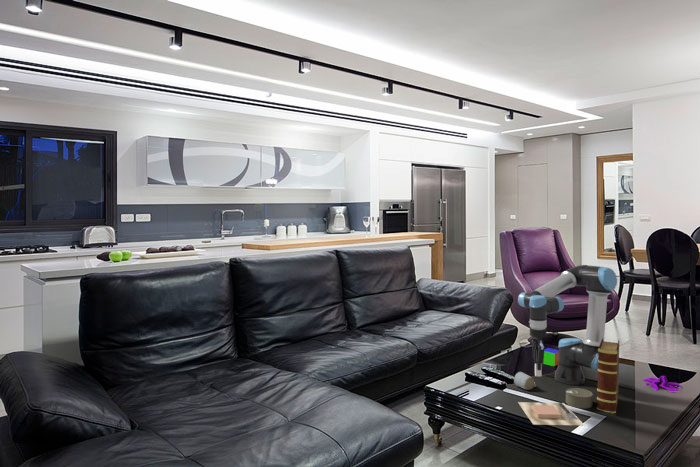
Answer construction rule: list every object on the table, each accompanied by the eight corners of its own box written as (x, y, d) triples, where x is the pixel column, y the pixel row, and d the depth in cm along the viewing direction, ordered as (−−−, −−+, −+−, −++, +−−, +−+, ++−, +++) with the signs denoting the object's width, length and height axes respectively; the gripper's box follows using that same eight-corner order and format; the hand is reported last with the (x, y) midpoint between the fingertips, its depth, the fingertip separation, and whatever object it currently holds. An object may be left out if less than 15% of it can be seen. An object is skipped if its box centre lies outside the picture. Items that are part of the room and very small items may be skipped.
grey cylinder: (525, 391, 251) (525, 377, 251) (513, 386, 258) (513, 372, 258) (539, 388, 256) (540, 374, 255) (527, 383, 263) (528, 369, 263)
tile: (553, 405, 226) (560, 414, 216) (552, 409, 226) (560, 418, 216) (531, 405, 227) (538, 414, 217) (531, 409, 227) (538, 418, 217)
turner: (564, 404, 231) (564, 403, 231) (577, 419, 216) (577, 417, 215) (556, 404, 232) (556, 402, 232) (569, 419, 216) (569, 417, 216)
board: (563, 405, 233) (563, 403, 233) (584, 428, 210) (584, 425, 210) (517, 404, 235) (517, 402, 235) (533, 427, 211) (533, 424, 211)
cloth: (644, 377, 272) (644, 367, 272) (683, 385, 261) (684, 374, 260) (637, 389, 255) (638, 378, 254) (680, 398, 243) (680, 386, 243)
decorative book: (615, 416, 222) (617, 351, 220) (596, 412, 226) (597, 349, 224) (618, 399, 241) (619, 340, 239) (600, 396, 245) (601, 337, 243)
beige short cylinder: (596, 412, 226) (596, 397, 226) (568, 410, 228) (569, 396, 228) (588, 401, 238) (588, 388, 238) (562, 400, 240) (562, 386, 240)
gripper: (525, 324, 239) (526, 371, 240) (534, 331, 226) (534, 380, 227) (541, 324, 238) (541, 370, 240) (550, 331, 225) (550, 380, 227)
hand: (538, 375), depth 234 cm, fingers closed
